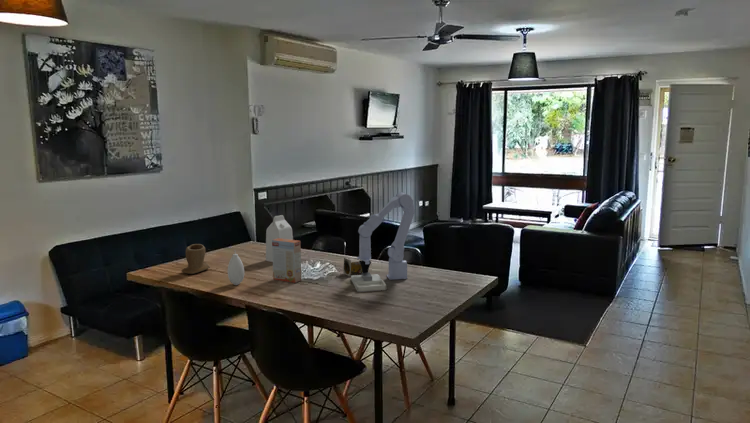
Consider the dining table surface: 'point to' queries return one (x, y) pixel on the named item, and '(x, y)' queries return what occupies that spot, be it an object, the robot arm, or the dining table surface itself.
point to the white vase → (235, 270)
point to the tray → (370, 287)
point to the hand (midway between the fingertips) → (365, 274)
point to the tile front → (367, 277)
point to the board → (360, 281)
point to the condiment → (351, 267)
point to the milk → (277, 234)
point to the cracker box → (286, 260)
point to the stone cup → (195, 259)
